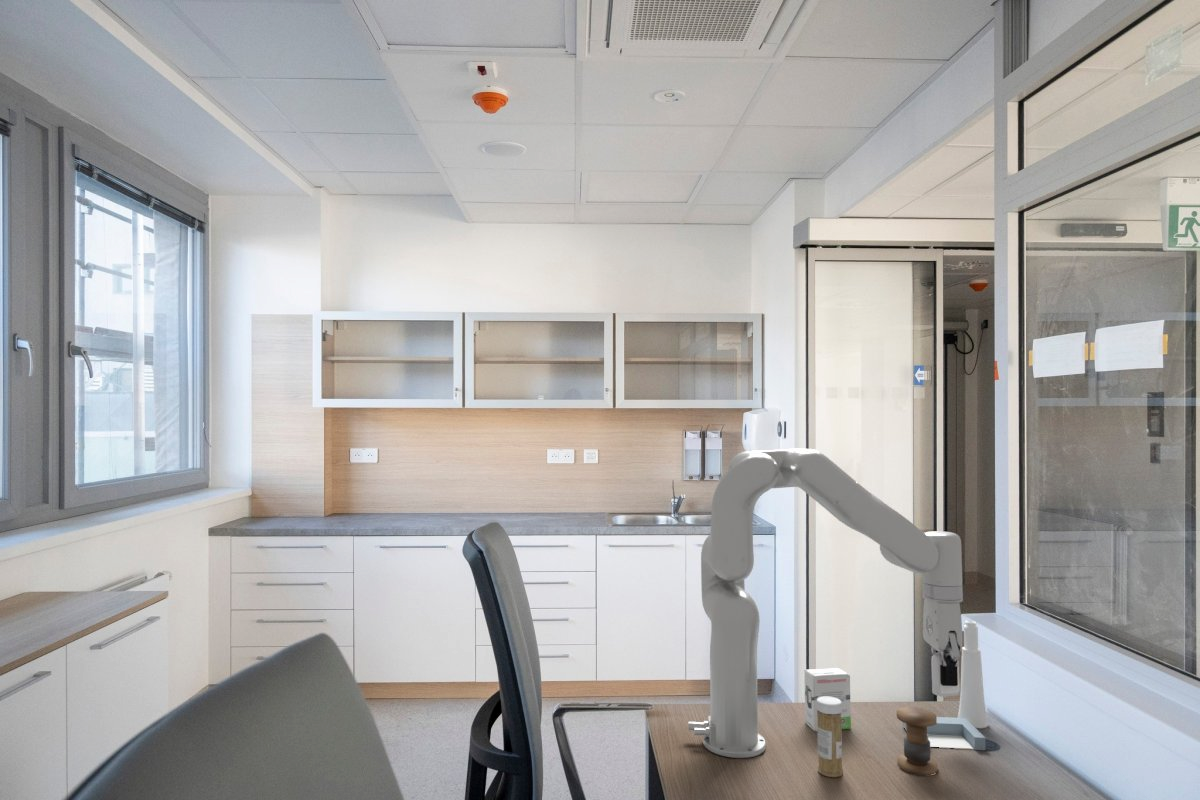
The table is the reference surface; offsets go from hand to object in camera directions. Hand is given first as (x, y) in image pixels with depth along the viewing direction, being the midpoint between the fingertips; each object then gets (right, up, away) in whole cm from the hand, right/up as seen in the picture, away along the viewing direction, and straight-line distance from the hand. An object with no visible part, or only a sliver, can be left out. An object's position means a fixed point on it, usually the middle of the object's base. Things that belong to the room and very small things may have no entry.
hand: (944, 680), depth 149 cm
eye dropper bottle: (0, -3, 0) cm, 3 cm away
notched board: (0, -13, +1) cm, 13 cm away
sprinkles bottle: (-28, -12, -14) cm, 34 cm away
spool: (-11, -12, -12) cm, 20 cm away
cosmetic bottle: (+10, -13, +9) cm, 19 cm away
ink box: (-22, -13, +8) cm, 26 cm away
